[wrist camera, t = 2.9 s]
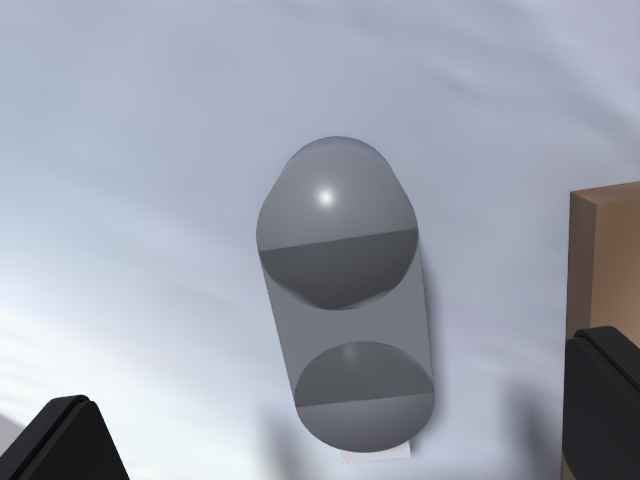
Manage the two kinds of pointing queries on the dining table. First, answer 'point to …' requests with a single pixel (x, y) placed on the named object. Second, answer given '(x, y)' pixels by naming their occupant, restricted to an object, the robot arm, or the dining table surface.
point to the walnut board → (604, 264)
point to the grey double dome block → (348, 298)
